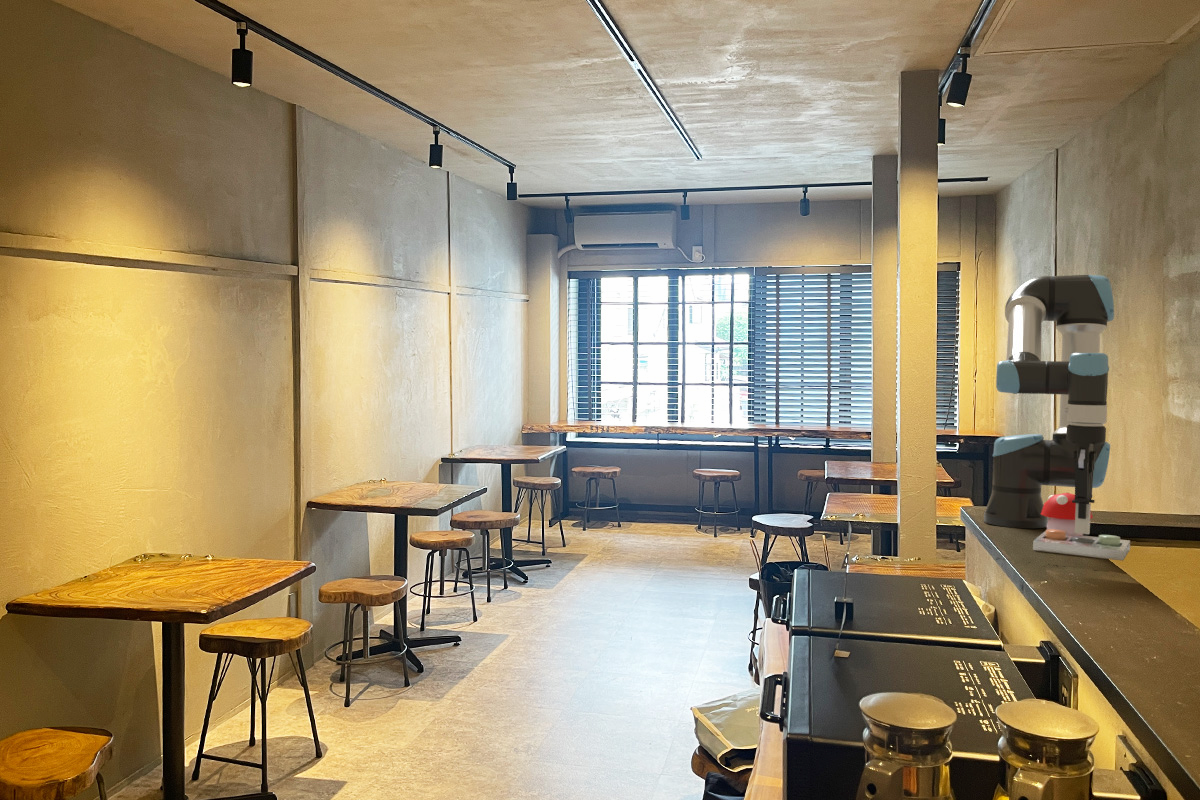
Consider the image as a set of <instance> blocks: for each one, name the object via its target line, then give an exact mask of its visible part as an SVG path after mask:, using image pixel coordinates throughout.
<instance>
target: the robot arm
mask: <svg viewBox="0 0 1200 800" xmlns="http://www.w3.org/2000/svg"><path fill="white" fill-rule="evenodd" d="M1114 307H1115V305H1114V294H1113V289H1112V284H1111V281H1110V279H1109V278H1108V277H1107V276H1105V275H1098V274H1097V275H1096V274H1095V275H1094V274H1075V275H1043V276H1036V277H1034V278H1032V279H1029V280H1027V281H1026V282H1023V283H1022V284H1021V285H1020V286H1018V287H1017V288H1016V289H1015V290H1013V292H1012V293H1011V295H1010V296H1009V297H1008V299H1007V301H1006V303H1005V307H1004V308H1005V309H1004V317H1005V320H1006V321H1007V323H1008V327H1007V328H1008V329H1007V342H1006V343H1007V344H1006V345H1007V346H1006V360H999V361H998V362H997V363H996V380H995V381H996V382H995V385H996V391H998V392H999V393H1004V394H1005V393H1007V394H1013V395H1017V394H1023V395H1024V394H1025V395H1026V394H1027V395H1028V394H1034V395H1035V394H1036V395H1041V394H1042V395H1043V394H1044V395H1060V396H1059V397H1060V398H1059V399H1060V401H1059V426H1058V428H1057V429H1056V430H1054V431H1053V432H1052V439H1051V440H1049V439H1048V440H1047V439H1044V437H1045V436H1044V435H1043V434H1041V433H1028V434H1017V435H1016V434H1015V435H1014V434H1013V435H1006V436H1005V435H1004V436H1001V437H1000V436H999V437H998V438H997V439H995V440H994V443H993V453H992V457H993V463H992V484H991V485H992V487H991V495H990V497H989V500H988V502H987V504H986V508H985V510H984V514H983V521H984V523H986V524H989V525H993V526H998V527H999V526H1000V527H1005V528H1015V529H1043V528H1044V529H1045V528H1047V523H1048V519H1049V517H1046V516H1043V515H1041V512H1042V509H1043V506H1044V501H1043V498H1042V486H1051V487H1053V486H1054V487H1066V488H1074V495H1075V497H1074V499H1075V500H1072V503H1076V512H1075V533H1081V534H1083V535H1090V533H1091V532H1090V529H1091V519H1090V510H1091V509H1092V508H1091V504H1095V502H1096V501H1095V499H1092V498H1093V489H1098V488H1100V487H1101V486H1102V485H1103V484H1104V482H1105V479H1106V475H1107V471H1108V466H1109V459H1110V455H1111V453H1110V451H1111V443H1109V442H1107V441H1106V435H1107V427H1106V426H1105V425H1104V424H1107V420H1108V418H1107V417H1108V404H1107V403H1108V401H1107V400H1108V399H1107V398H1108V384H1109V383H1108V382H1109V381H1108V380H1109V371H1110V367H1109V356H1108V354H1106V353H1104V352H1100V348H1101V347H1100V346H1101V345H1100V344H1101V341H1100V340H1101V334H1103V332H1104V331H1105V330H1106V329H1108V322H1112V321H1114V318H1115V310H1114V309H1115V308H1114ZM1047 321H1048V322H1055V329H1056V330H1057V331H1058V332H1059V333H1060V334H1061V335H1062V336H1061V339H1062V340H1061V360H1059V361H1058V360H1055V361H1053V360H1042V327H1043V326H1042V323H1043V322H1047ZM1091 511H1092V510H1091Z"/></svg>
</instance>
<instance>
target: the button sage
mask: <svg viewBox="0 0 1200 800" xmlns="http://www.w3.org/2000/svg"><path fill="white" fill-rule="evenodd" d="M1098 537H1099V544H1101V545H1110V546H1119V547H1120V540H1121V536H1117V535H1114V534H1113V535H1111V534H1098Z"/></svg>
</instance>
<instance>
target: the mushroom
mask: <svg viewBox="0 0 1200 800" xmlns="http://www.w3.org/2000/svg"><path fill="white" fill-rule="evenodd" d="M1074 497H1075V493H1070V492H1063V493H1057V494H1052V495H1051V494H1050V495H1049V496H1048V498H1047V500H1046V501H1045V502H1043V504H1044V506H1043V509H1042V512H1041V515H1043V516H1046V517H1048V523H1047V527H1046V530H1047V529H1056V530H1063V531H1066V534H1073V535H1083V536H1084V534H1081V533H1075V512H1076V503H1072V500H1075V499H1074ZM1092 519H1094V516H1093V513H1092V510H1090V520H1092Z"/></svg>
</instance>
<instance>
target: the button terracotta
mask: <svg viewBox="0 0 1200 800" xmlns="http://www.w3.org/2000/svg"><path fill="white" fill-rule="evenodd" d="M1045 532H1046V535H1045V538H1046V539H1055V540H1064V541H1066V531H1063V530H1056V529H1047V528H1046V529H1045Z"/></svg>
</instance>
